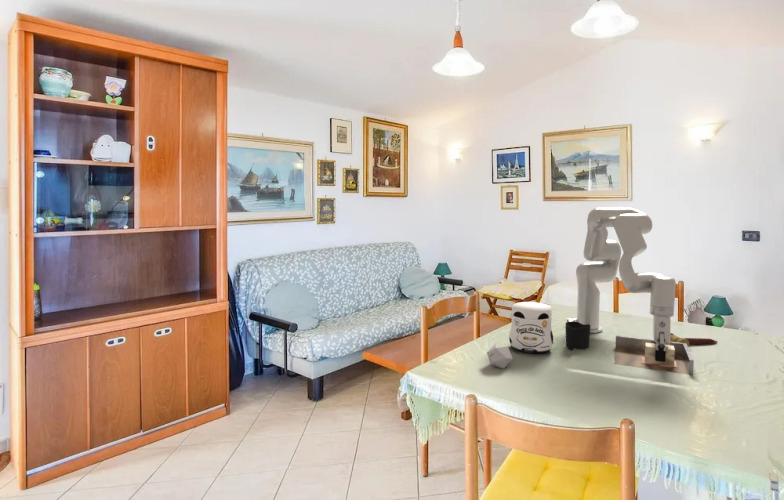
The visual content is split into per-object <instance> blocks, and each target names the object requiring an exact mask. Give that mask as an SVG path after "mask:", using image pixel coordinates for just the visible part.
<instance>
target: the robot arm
mask: <svg viewBox="0 0 784 500" xmlns="http://www.w3.org/2000/svg"><path fill="white" fill-rule="evenodd" d="M586 225H587V233H586V236H585V240H584V241H585V242H584V245H583V246H584V248H583V258H584V259H585V260H587V261H586V262H582V263H580V264H578V265H577V267H576V269H575V276H576V283H577V305H576V306H577V307H576V318H566V322H571V321H575V322H579V323H581V324H584V325H587V324H589V325H590V334H596V333H601V332H602V331H603V327H602V326H601V325H599V324H600V309H601V307H600V305H601V303H600V301H601V292H600V289H599V287H598V286H597V284H598V283H599V284H600V283H610V282H613V281H614V280H615V279H616V277H617V274H618V272H619V276H620V279H621V281H622V284H623V286H624V288H625V289H626V291H627V292H629V293H632V294H644V293H645V294H646V293H647V294H648V293H650V299H649V300H650V301H649V314H650V315H651V316H653V317H652V336H653V340H654V341H655V343H654V344H656V350H655V361H660V362H665V359H666V351H665V344H666V343H668V344H670V333H671V321H672V320H671V318H672V317H674V315H675V301H676V286H677V285H676V284H677V283H676V282H677V281H676V279H675V278H674V277H672V276H666V275H663V274H662V273H660V272H635V271H634V268H633V267H634V266H633V264H632V260H633V258H635V257H637V256H639V255H641V254H643V253H644V252H645V251H646V250H647V247H648V245H647V242H646V241H645V240H646V239H645V238H644V235H646V234H648V233H651V231H652V229H653V220H652V219H651V217H650V216H649V215H648V214H646V213H645V212H643V211H640V210H638V209H635V208H632V207H625V206H619V207H618V206H616V207H614V206H613V207H611V206H610V207H607V206H606V207H597V208H593V209H591V210H590V211H589V213H588V214H587V220H586ZM608 228H613V229H614V231H615V234H616V236H617V239H618V241H616V240H613V239H608V237H609V230H608ZM622 252H623V254H622ZM665 342H666V343H665ZM658 344H660V345H658Z"/></svg>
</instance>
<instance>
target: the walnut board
mask: <svg viewBox="0 0 784 500" xmlns="http://www.w3.org/2000/svg"><path fill="white" fill-rule="evenodd" d="M614 365H619V366H620V365H621V366H627V367H635V368H642V369H647V370H648V369H649V370H656V371H662V372H669V373H677V374H683V375H684V374H685V375H692V374H689V373H688V371H687V368H686V365H685V363H684V360H683V357H681V356H675V357H674V366H668V365H661V364H653V363H646V362H645V352H641V351H633V350H625V349H617V348H614ZM692 376H693V375H692Z"/></svg>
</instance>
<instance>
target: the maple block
mask: <svg viewBox="0 0 784 500" xmlns="http://www.w3.org/2000/svg"><path fill="white" fill-rule="evenodd" d="M658 345H660V344H658ZM655 350H656V344H653V343H645V362H646V363H653V364H661V365H668V366H674V357H675V349H674V346H670V345H665V351H666V359H665V362H660V361H655Z"/></svg>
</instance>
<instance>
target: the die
mask: <svg viewBox="0 0 784 500" xmlns="http://www.w3.org/2000/svg"><path fill="white" fill-rule="evenodd" d="M486 355H487V357H488V360H489V363H490V365H491V366H492V367H496V368H499V369H505V368H506V367H507V366H508V365H509V364H510V363H511V362H512V361H513V356H512V354H511V351H510V349H509V346H508V345H502V344H499V343H495V344H494V345H493V346H492V347H491V348H489V350H488V351H487V352H486Z"/></svg>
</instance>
